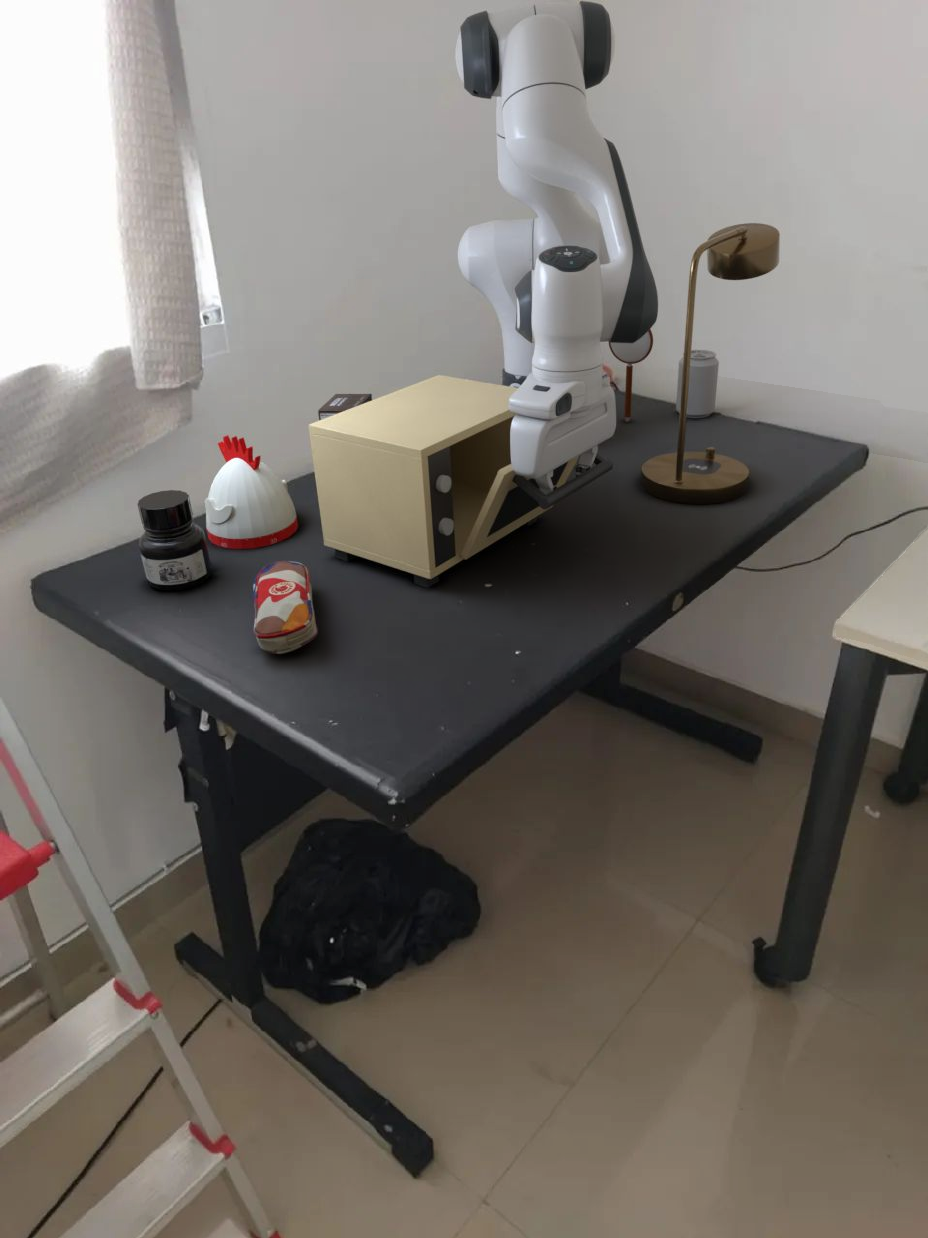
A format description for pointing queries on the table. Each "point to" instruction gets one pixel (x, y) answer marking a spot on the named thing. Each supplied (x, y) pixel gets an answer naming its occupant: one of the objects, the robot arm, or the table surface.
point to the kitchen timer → (247, 501)
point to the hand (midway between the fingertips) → (566, 488)
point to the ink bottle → (172, 542)
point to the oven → (411, 472)
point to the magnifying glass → (631, 362)
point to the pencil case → (283, 607)
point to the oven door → (523, 501)
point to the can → (699, 383)
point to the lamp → (689, 472)
